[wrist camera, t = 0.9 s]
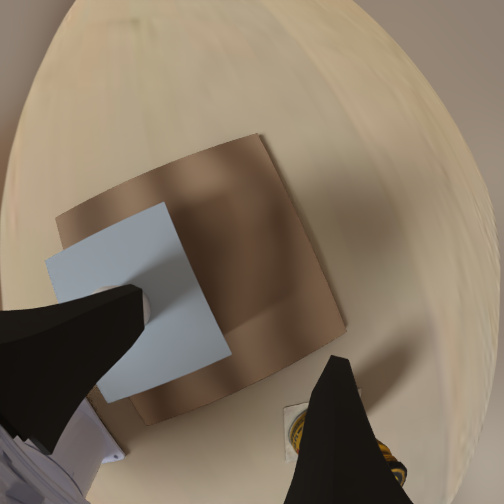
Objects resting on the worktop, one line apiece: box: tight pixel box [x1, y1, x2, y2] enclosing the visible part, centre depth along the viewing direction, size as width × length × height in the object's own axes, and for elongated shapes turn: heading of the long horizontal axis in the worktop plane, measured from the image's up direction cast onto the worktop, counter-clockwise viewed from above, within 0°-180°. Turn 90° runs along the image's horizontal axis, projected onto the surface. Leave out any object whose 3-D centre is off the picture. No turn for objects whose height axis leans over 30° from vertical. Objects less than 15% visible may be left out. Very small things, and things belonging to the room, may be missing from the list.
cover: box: [45, 202, 232, 403], centre depth 16 cm, size 9×10×9 cm
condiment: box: [284, 388, 407, 486], centre depth 17 cm, size 7×8×12 cm
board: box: [55, 133, 347, 426], centre depth 22 cm, size 20×20×1 cm
